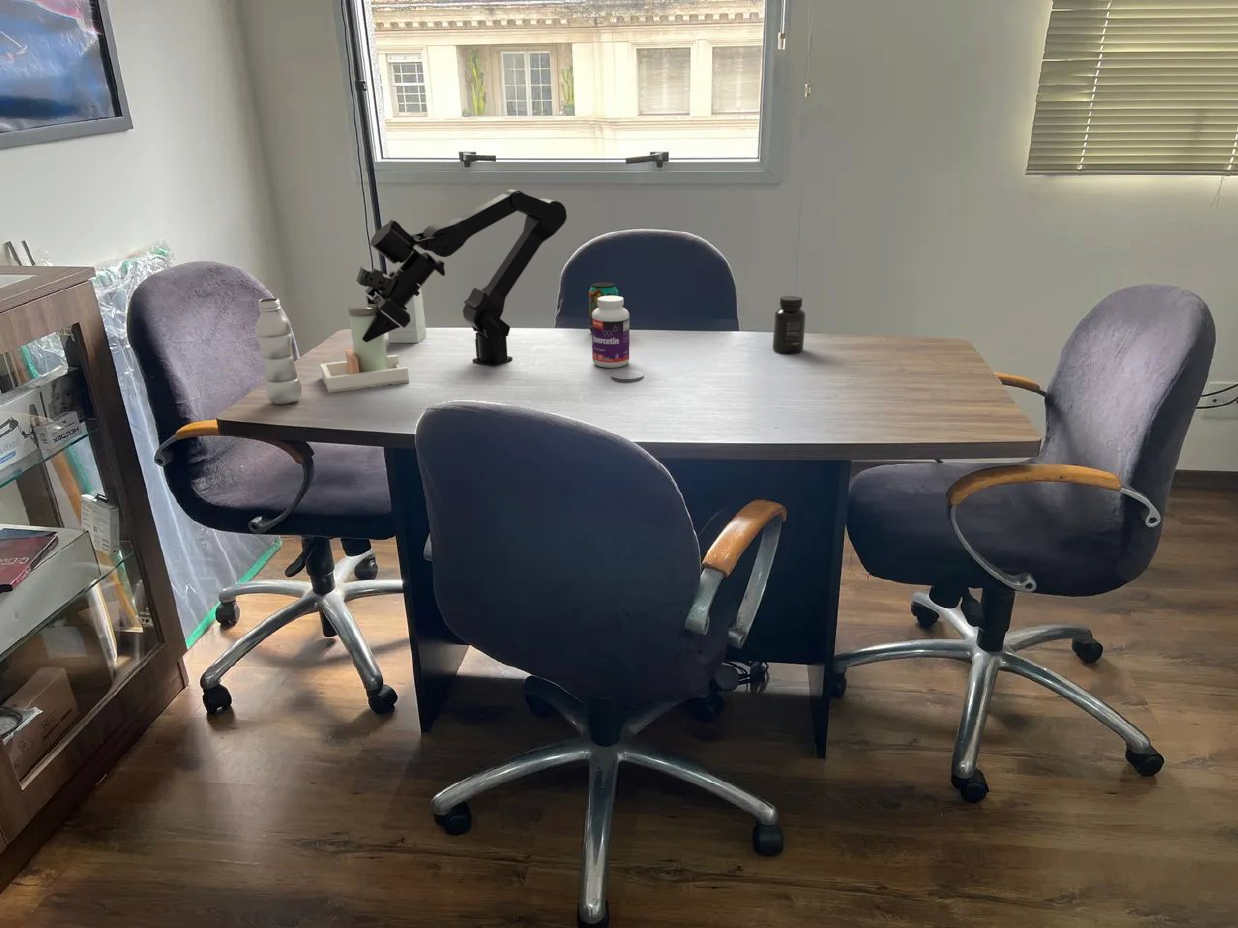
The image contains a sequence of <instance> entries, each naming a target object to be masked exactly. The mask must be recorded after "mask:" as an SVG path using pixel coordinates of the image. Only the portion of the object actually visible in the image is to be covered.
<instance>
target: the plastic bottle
mask: <svg viewBox="0 0 1238 928" xmlns="http://www.w3.org/2000/svg"><path fill="white" fill-rule="evenodd" d="M257 302H258V303H257V304H258V307H259V308H258V311H259V312H260V315H259V317H258V319H257V321H256V323H255V326H254V331H255V335H256V338H257V342H258V345H259V348H260V351H261V354H262V357H263V363H264V372H265V393H266V397H267V399H268V400H269V401H270V402H271V403H272V404H277V405H284V404H285V405H286V404H291V403H294V402H297V401H299V400H300V399H301V397H302V391H303V390H302V384H301V381H300V378H299V376H298V372H297V368H296V365H295V360H294V355H293V354H294V353H293V345H292V344H293V343H292V341H293V340H292V338H293V336H292V335H293V334H292V325H291V324H290V321H289V320H288V319H287V317H286V316H285V315H284V314H283V313H282V312H281V310H282V306H281V303H280V298H278V297H266V298H262V299H259V300H258V301H257Z"/></svg>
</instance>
